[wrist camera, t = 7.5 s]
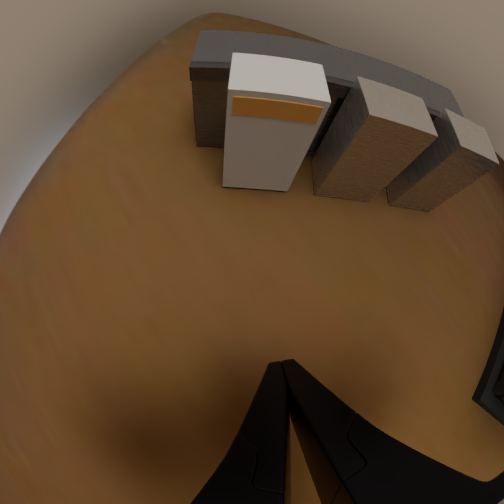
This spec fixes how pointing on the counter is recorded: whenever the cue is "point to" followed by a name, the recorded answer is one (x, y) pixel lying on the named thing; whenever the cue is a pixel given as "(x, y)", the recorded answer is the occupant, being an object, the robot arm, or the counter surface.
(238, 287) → the counter surface
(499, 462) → the counter surface
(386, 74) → the box
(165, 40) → the counter surface
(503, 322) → the lantern
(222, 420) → the counter surface
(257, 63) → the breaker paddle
